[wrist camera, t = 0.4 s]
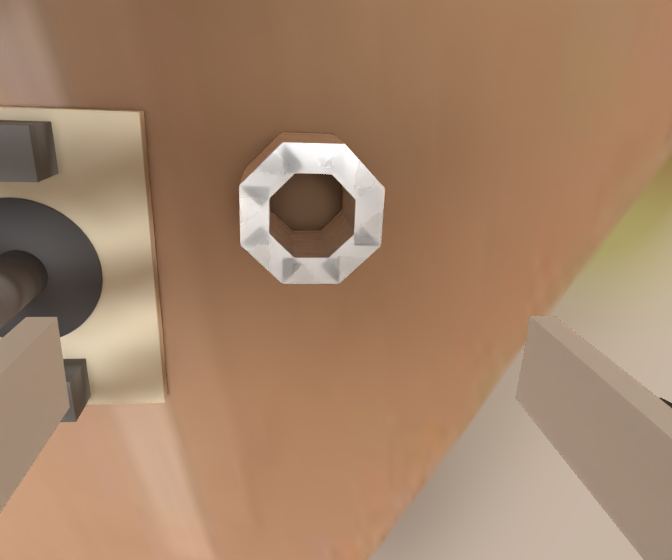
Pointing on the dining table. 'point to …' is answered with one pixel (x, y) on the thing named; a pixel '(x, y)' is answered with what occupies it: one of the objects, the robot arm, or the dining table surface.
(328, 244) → the hub
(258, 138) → the dining table surface
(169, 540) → the dining table surface
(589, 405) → the robot arm
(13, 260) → the shaft stand
